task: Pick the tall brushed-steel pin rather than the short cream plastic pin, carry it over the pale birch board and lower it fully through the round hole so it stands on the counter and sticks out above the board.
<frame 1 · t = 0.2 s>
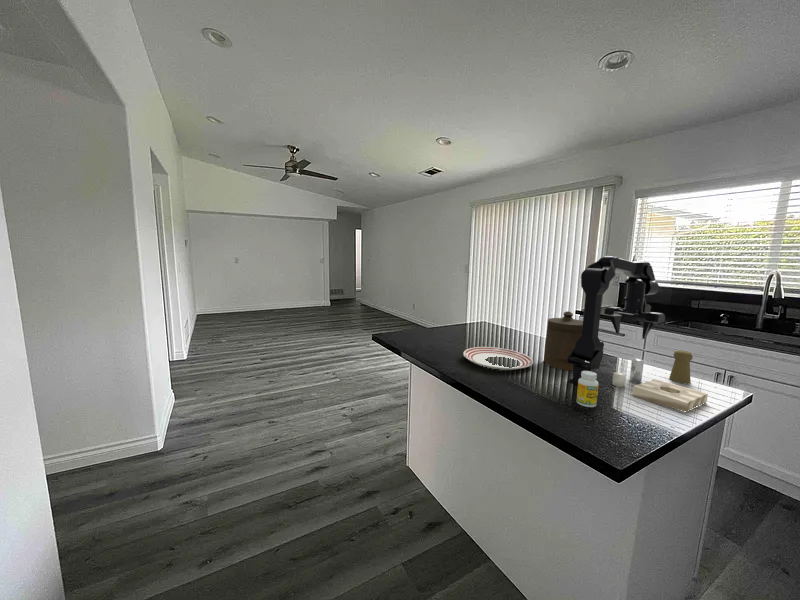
hand: (630, 336, 130), 14 cm above the countertop, tool pointing down, fingers open, 9 cm apart
tall steel pin: (635, 381, 121), on the countertop
supplement bottle: (586, 404, 102), on the countertop
dinner plate: (496, 363, 140), on the countertop
wooden container: (563, 365, 139), on the countertop
short cream pin: (618, 385, 118), on the countertop
cork: (679, 381, 123), on the countertop
hole board: (668, 399, 107), on the countertop
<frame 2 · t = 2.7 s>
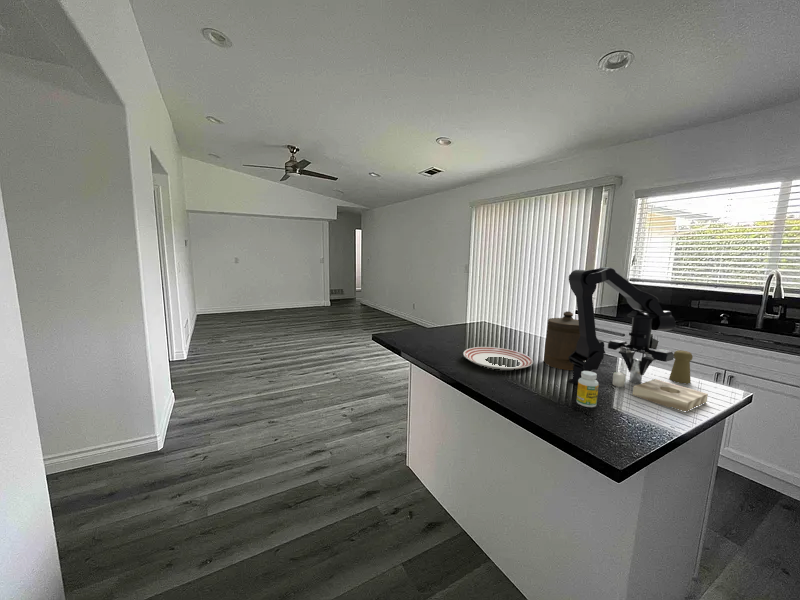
hand: (636, 373, 121), 3 cm above the countertop, tool pointing down, fingers closed on tall steel pin, 3 cm apart
tall steel pin: (635, 381, 121), on the countertop, touching gripper
everything else where it was.
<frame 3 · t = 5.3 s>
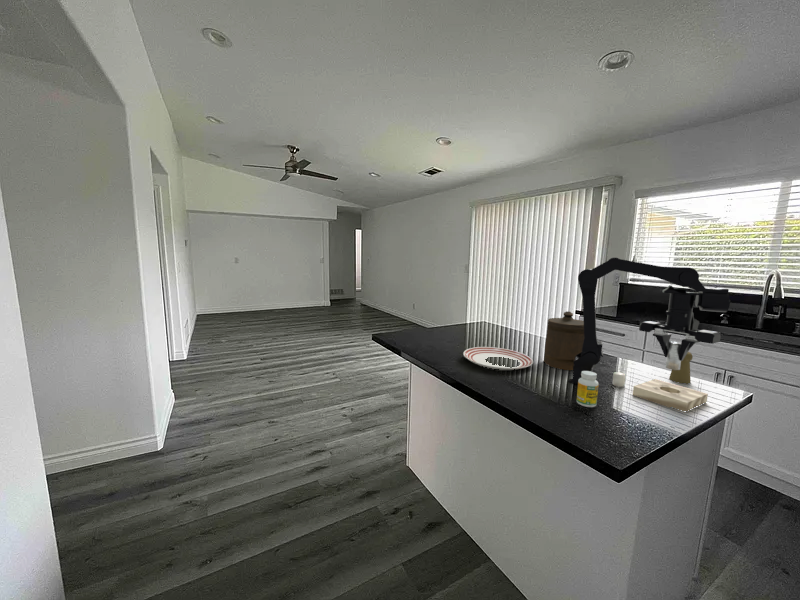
hand: (673, 358, 105), 13 cm above the countertop, tool pointing down, fingers closed on tall steel pin, 3 cm apart
tall steel pin: (672, 368, 106), point 10 cm above the countertop, touching gripper
everything else where it was.
when the fingers open (4 cm above the countertop, at t = 8.2 s): tall steel pin stays where it is, resting in hole board.
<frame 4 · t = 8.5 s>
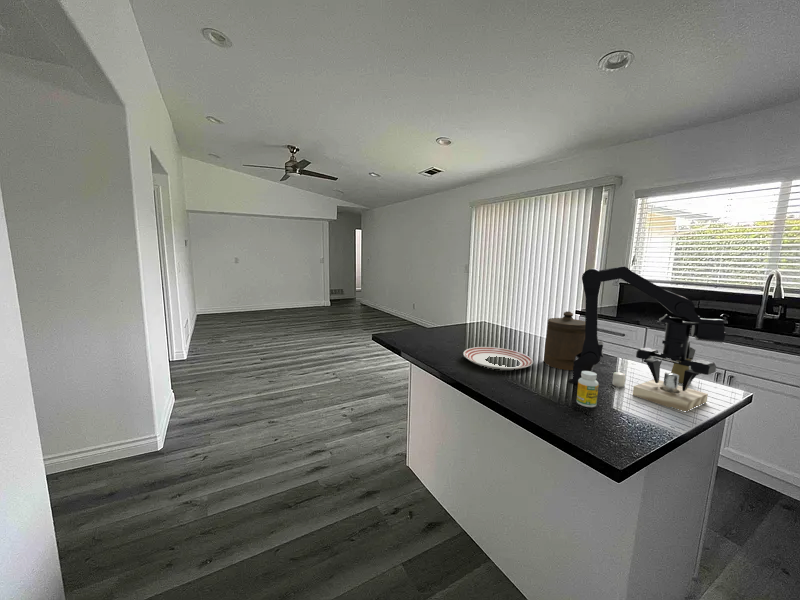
hand: (670, 386, 106), 4 cm above the countertop, tool pointing down, fingers open, 7 cm apart
tall steel pin: (668, 399, 107), resting in hole board
everything else where it was.
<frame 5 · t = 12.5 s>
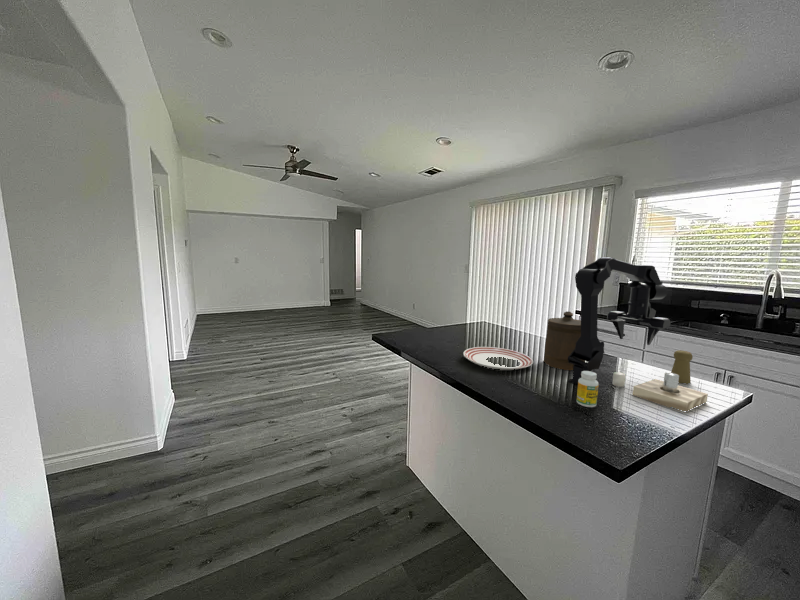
hand: (634, 341, 126), 13 cm above the countertop, tool pointing down, fingers open, 9 cm apart
nothing on the countertop moved.
at the end: tall steel pin 0.1 cm off-centre on the hole board, point 0.0 cm above the hole board's base; tall steel pin tilted 0°; short cream pin moved 0.1 cm from its start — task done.
